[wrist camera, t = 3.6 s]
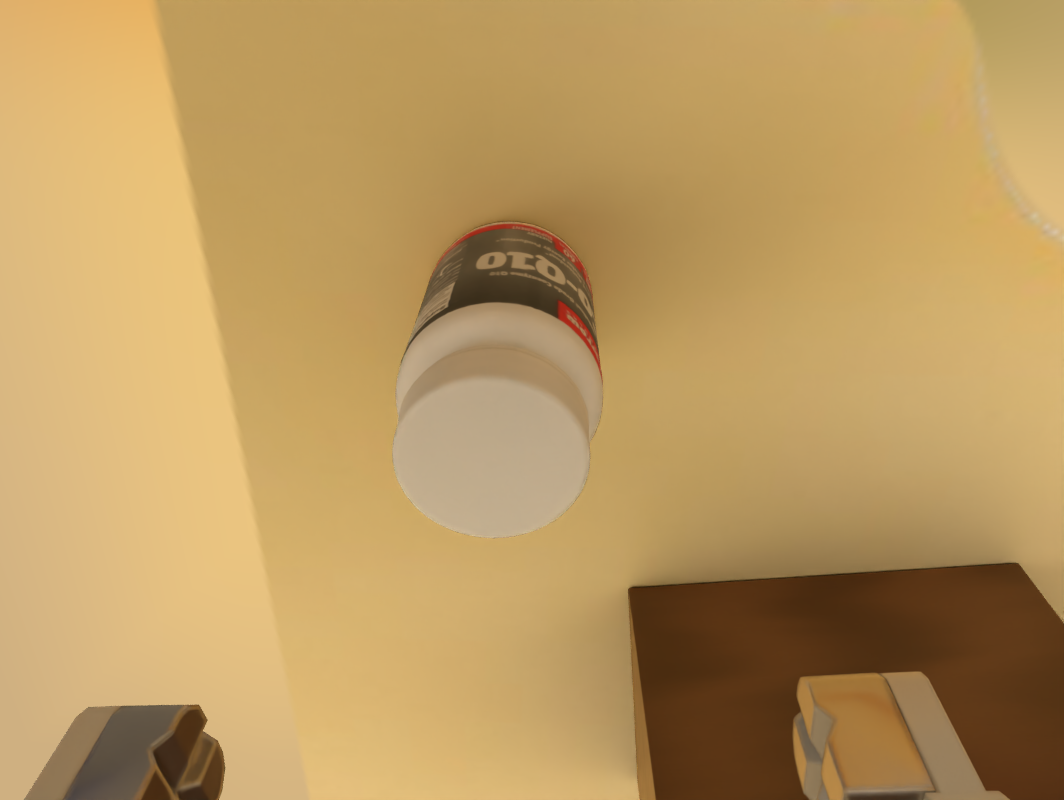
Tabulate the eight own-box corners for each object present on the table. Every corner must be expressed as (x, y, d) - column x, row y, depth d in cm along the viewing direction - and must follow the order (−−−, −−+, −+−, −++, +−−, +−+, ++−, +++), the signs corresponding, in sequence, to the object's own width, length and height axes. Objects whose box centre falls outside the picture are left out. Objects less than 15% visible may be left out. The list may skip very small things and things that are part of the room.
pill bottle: (623, 271, 22) (661, 432, 15) (537, 392, 24) (534, 584, 17) (479, 185, 21) (445, 314, 14) (401, 319, 23) (337, 493, 16)
